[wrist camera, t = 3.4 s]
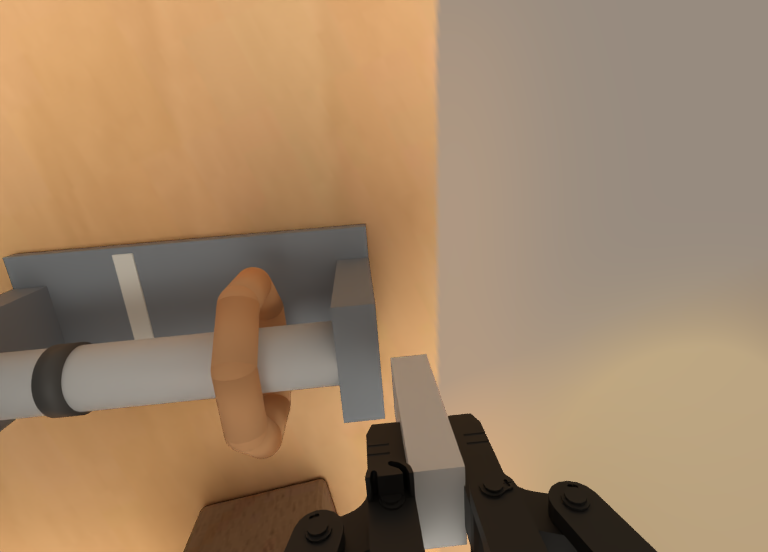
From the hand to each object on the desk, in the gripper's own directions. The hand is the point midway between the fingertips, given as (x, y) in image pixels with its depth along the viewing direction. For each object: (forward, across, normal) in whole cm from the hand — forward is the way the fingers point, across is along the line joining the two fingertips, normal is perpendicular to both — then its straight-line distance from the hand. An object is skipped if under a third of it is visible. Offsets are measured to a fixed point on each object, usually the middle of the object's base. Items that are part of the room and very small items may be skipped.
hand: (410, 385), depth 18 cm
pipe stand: (+12, -12, 0) cm, 17 cm away
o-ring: (+8, -7, 0) cm, 11 cm away
